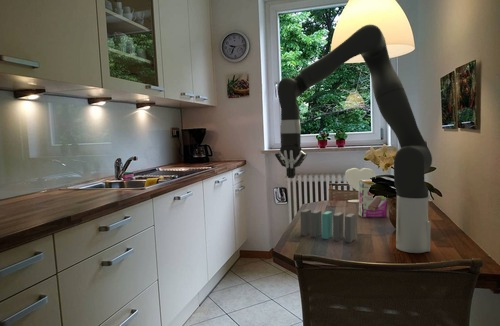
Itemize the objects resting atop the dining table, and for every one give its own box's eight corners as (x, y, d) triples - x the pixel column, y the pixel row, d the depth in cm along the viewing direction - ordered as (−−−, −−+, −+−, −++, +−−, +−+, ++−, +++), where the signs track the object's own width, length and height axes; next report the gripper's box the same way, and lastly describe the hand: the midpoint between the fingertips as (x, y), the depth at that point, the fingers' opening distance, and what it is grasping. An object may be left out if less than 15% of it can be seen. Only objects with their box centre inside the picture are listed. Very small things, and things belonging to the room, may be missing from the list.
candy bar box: (362, 218, 158) (362, 181, 157) (358, 215, 163) (358, 179, 162) (387, 217, 159) (387, 180, 157) (382, 215, 164) (383, 179, 162)
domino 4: (333, 240, 128) (333, 215, 127) (338, 236, 132) (338, 212, 131) (338, 240, 127) (338, 215, 126) (343, 237, 131) (343, 212, 130)
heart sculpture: (374, 200, 198) (374, 167, 196) (375, 202, 193) (375, 168, 191) (345, 200, 201) (345, 167, 199) (345, 201, 196) (345, 168, 194)
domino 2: (311, 236, 132) (311, 212, 132) (316, 233, 137) (316, 210, 136) (316, 237, 131) (316, 213, 131) (321, 234, 136) (321, 210, 135)
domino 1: (300, 235, 135) (300, 211, 134) (306, 232, 139) (306, 208, 138) (305, 235, 134) (305, 212, 133) (311, 232, 138) (311, 209, 137)
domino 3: (322, 238, 130) (322, 213, 129) (327, 234, 134) (327, 211, 134) (327, 239, 129) (327, 214, 128) (332, 235, 133) (332, 211, 133)
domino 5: (344, 241, 126) (344, 216, 125) (349, 238, 130) (349, 213, 129) (350, 242, 124) (350, 216, 124) (355, 238, 129) (355, 214, 128)
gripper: (270, 132, 137) (271, 178, 138) (302, 132, 130) (302, 180, 131) (279, 132, 143) (280, 176, 145) (310, 131, 136) (311, 177, 137)
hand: (291, 177), depth 138 cm, fingers closed
